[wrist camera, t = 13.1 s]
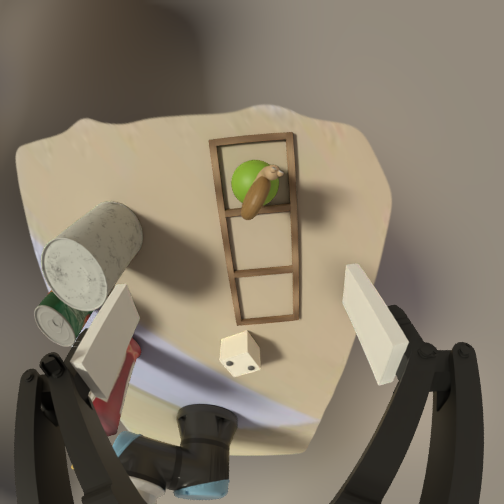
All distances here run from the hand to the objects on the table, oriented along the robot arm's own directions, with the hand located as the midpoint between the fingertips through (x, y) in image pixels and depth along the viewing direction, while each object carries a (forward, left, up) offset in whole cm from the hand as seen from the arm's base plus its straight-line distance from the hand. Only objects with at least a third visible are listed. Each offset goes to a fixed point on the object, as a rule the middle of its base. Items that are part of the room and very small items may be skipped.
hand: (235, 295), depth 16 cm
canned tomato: (-12, +29, -21) cm, 38 cm away
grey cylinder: (-3, +19, -21) cm, 29 cm away
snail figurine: (+2, -2, -21) cm, 21 cm away
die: (-26, +3, -21) cm, 34 cm away
